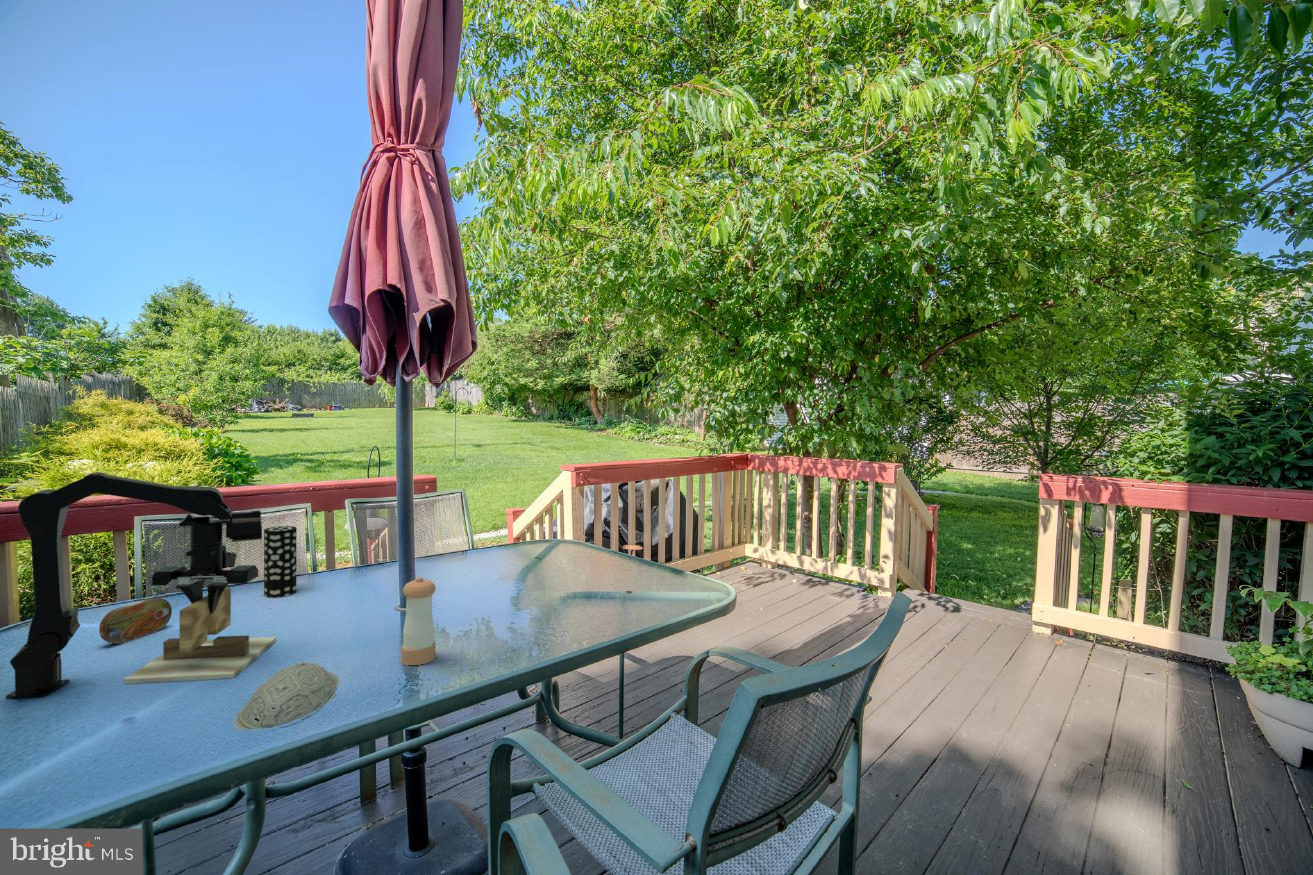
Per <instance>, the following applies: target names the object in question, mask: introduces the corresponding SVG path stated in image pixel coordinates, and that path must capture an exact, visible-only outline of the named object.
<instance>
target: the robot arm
mask: <svg viewBox="0 0 1313 875" xmlns="http://www.w3.org/2000/svg"><path fill="white" fill-rule="evenodd" d="M94 494H101V495H108V496H113V497H120V498H127V499H133V500H138V501H139V500H140V501H145V502H151V503H158V504H163V505H164V504H165V505H169V506H172V507H174V508H176V509H179V510H182V511H185V512H188V513H187V515H186V516H185V517H184V518H183V519H182V520H180V521H179V523H178V526H179V527H189V550H187V551H186V557H189V569H188V568H187V567H186V566H184V565H183V566H179V565H177V566H166V567H164V568H161V569H158V570H156V571H154V572H153V573H152V574H151V577H150V585H151V586H167V585H169V584H170V583H171V582H172V581H173V580H174V581H175V580H177V584H178V585H176V586H175V588H176V589H178V590H181V592H182V593H183V594H184V595H185V596H186V598H187V600H188V601H189V602H190V603H191V604H193V603H194V602H196V601H198V600H200V599H202V598H204V590H203V589H204V584H205V582H206V580H213V581H212V583H211V584H209V585H207V586H206V587H207V588H206V589H207V595H208V604H209V611H210V613H213V612H214V611H215V609H216V607H217V604H218V602H219V599H220V597H221V595H222V593H223V591H224V589H225V588H227V586H228V585H229V584H230V585H233V584H234V585H236V584H237V585H240V584H248V583H250V582H252V581H253V580H255V579H257V578H258V577H259V569H258V567H257V566H256V565H254V564H251V565H249V564H247V565H246V564H245V565H244V564H243V565H240V564H239V565H237V566H235V565H236V560H237V553H235V552H229V551H227V547H226V545H225V544H224V545H223V525H224V524H225V538H226V539H229V540H231V542H232V543H234V542H235V543H236V542H237V543H238V542H245V541H259V540H262V538H263V532H262V531H263V524H262V521H261V520H262V518H261V516H262V514H261V513H262V512H261V510H260V509H255V510H250V511H237V512H235V511H234V512H233V510H232V509H231V507H229V506H228V505H227V504H226V503H225V502H224V501H223V499H224V498H223V494H222V492H221V491H220V489H218V488H216V487H212V486H202V485H201V486H200V485H199V486H197V485H183V486H181V485H180V486H178V485H168V484H163V483H160V482H159V483H157V482H152V481H146V480H140V479H134V478H128V477H124V476H123V477H122V476H116V475H111V474H107V473H105V472H102V471H96V472H91V473H90V474H87V475H86V476H84V477H82V478H79V479H78V480H76V481H73V482H72V483H71V482H70V483H69V484H66V485H64V486H62V487H60V488H57V489H51V488H50V489H49V488H47V489H41V490H38V491H37V492H34V493H32V494H30V495H27V496H26V497H24V498H23V499H22V500H20V502H19V504H18V506H17V507H18V508H17V509H18V510H17V511H18V514H19V516H20V520H21V523H22V526H23V528H24V530H25V532H26V533H27V535H28V537H29V539H30V544H31V545H30V546H31V561H32V562H31V564H32V578H33V579H32V580H33V593H34V595H33V596H34V612H33V614H32V615H33V616H32V619H31V623H30V625H29V631H28V635H27V640H26V643H25V644H24V645H22V647H20V649H19V650H18V651H17V653H16V654H14V656H13V657H12V658H11V659H10V661H9V663H10V665H11V667H12V668H13V670H14V691H12V692H10V693H8V694H6V695H5V699H22V698H23V699H24V698H42V697H46V696H47V695H49V694H51V693H53V692H54V691H57V690H58V689H60V688H62V687H64V686H65V685H67V684H68V683H70V681H71V680H70V679H69V678H68V679H62V677H63V674H62V659H61V651H63V649H65V647H67V645H68V644H69V643H70V641H71V640H72V638H73V637H74V636H75V634H76V632H77V631H78V630H79V628H80V627H81V624H80V623H79V620H78V616H79V610H80V609H79V607H75V608H71V609H70V608H69V606H68V605H67V602H66V597H65V594H66V593H65V580H64V579H65V578H64V576H65V575H64V559H63V544H62V542H63V541H62V533H63V529H64V526H65V523H66V519H67V515H68V510H69V506H70V505H73V504H75V503H77V502H79V501H81V500H83V499H85V498H88V497H90V496H93V495H94ZM192 514H195V515H198V516H193V515H192ZM211 517H213V518H215V519H211ZM227 568H231V569H227Z"/></svg>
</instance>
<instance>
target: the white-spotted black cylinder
mask: <svg viewBox="0 0 1313 875" xmlns="http://www.w3.org/2000/svg"><path fill="white" fill-rule="evenodd" d="M297 529H298V528H297V526H292V525H291V526H290V525H283V526H282V525H280V526H272V527H267V528H264V530H263V556H264V557H263V561H264V562H263V596H264V597H265V598H270V599H272V598H274V599H275V598H282V597H288V596H289V597H290V596H291V595H294V594H295V593H297V535H298V534H297V531H298V530H297Z"/></svg>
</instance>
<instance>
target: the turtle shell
mask: <svg viewBox="0 0 1313 875" xmlns="http://www.w3.org/2000/svg"><path fill="white" fill-rule="evenodd" d="M339 682H340V677H339V676H338V675H337V674H335V673H334V672H330V671H328V670H326V669H325V668H324V667H323V666H321V665H319V664H317V663H314V662H304V661H299V662H297V663H296V664H293V665H289V666H284V667H283V668H281V669H279V670H278V671H276V672H275V673H274V674H273V675H272V676H270V678H268V679H266V680H264V682H263V683H262V684H261V685H260V686H259V687H257V689H256V690H255V691H254V693H253V694H252V695H251V696H250V698H249V700H248V701H247V702H246V703H245V705H243V707H242V708H240V710H239V711H238V712H237V714H236V717H235V718H234V720H233V726H234V728H235V729H237V730H238V731H242V730H244V731H242V732H245V730H246V731H248V730H249V729H263V728H272V727H274V726H279V725H283V724H287V723H290V722H292V721H293V720H297V719H301V718H303V717H305V716H307V715H309V714H311V713H313V712H314V711H317V710H318V709H319V708H321V707H322V706H323V705H324V704H325V703H327V701H329V702H331V700H333V699H334V697H335V696H336V690H337V689H338V685H339ZM336 686H337V687H336ZM336 688H337V689H336ZM329 699H331V700H329ZM327 704H328V703H327ZM325 705H326V704H325ZM325 705H324V706H325ZM324 706H323V707H324ZM323 707H322V708H323ZM322 708H321V709H322ZM317 712H318V711H317ZM256 719H257V720H256Z"/></svg>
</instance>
